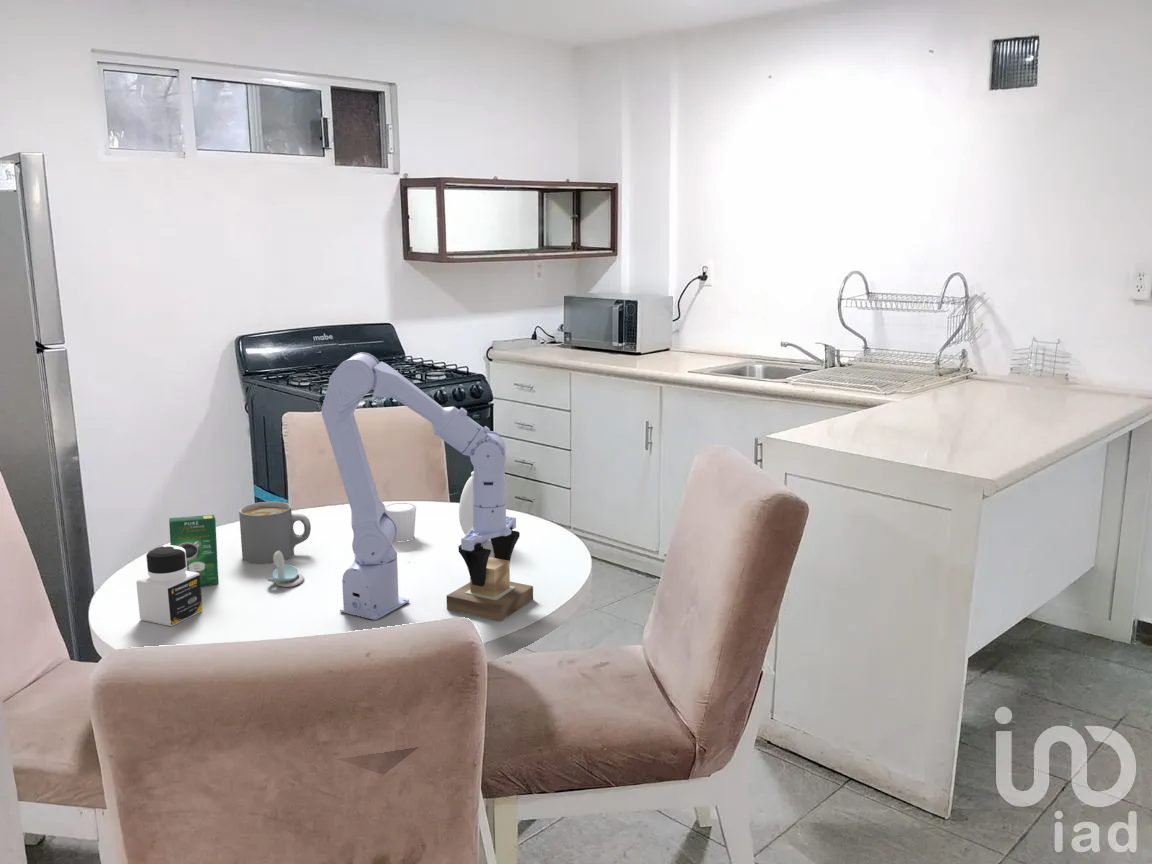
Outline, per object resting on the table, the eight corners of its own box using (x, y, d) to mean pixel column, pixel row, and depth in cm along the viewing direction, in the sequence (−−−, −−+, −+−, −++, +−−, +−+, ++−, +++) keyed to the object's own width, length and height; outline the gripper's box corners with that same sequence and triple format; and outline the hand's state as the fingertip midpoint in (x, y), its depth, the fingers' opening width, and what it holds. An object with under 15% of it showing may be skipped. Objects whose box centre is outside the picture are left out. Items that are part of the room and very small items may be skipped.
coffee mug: (236, 564, 180) (232, 516, 178) (250, 548, 189) (246, 501, 187) (305, 563, 181) (302, 514, 179) (315, 546, 190) (313, 500, 188)
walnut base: (500, 621, 153) (500, 606, 153) (446, 609, 158) (446, 594, 158) (533, 599, 163) (533, 585, 162) (481, 588, 168) (481, 574, 167)
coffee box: (219, 579, 172) (214, 512, 169) (220, 584, 169) (215, 516, 166) (173, 585, 169) (167, 517, 166) (173, 590, 166) (167, 521, 163)
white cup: (409, 544, 192) (408, 512, 191) (379, 541, 194) (378, 510, 192) (421, 534, 199) (420, 503, 198) (392, 531, 200) (391, 501, 199)
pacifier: (308, 576, 174) (276, 575, 174) (307, 545, 173) (275, 544, 173) (298, 590, 167) (265, 590, 167) (297, 558, 166) (263, 557, 166)
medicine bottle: (171, 627, 150) (165, 558, 148) (139, 620, 153) (132, 552, 150) (203, 611, 157) (198, 545, 154) (171, 605, 159) (165, 539, 157)
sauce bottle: (481, 549, 189) (480, 465, 186) (452, 543, 193) (450, 460, 190) (504, 539, 196) (503, 458, 192) (475, 533, 200) (473, 453, 196)
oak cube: (494, 597, 157) (494, 569, 156) (470, 591, 159) (469, 564, 158) (509, 587, 161) (509, 560, 160) (485, 582, 163) (485, 556, 162)
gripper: (485, 517, 149) (487, 595, 152) (530, 496, 161) (530, 568, 164) (450, 511, 152) (452, 588, 155) (496, 491, 165) (497, 562, 167)
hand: (490, 577), depth 160 cm, fingers open, 7 cm apart
